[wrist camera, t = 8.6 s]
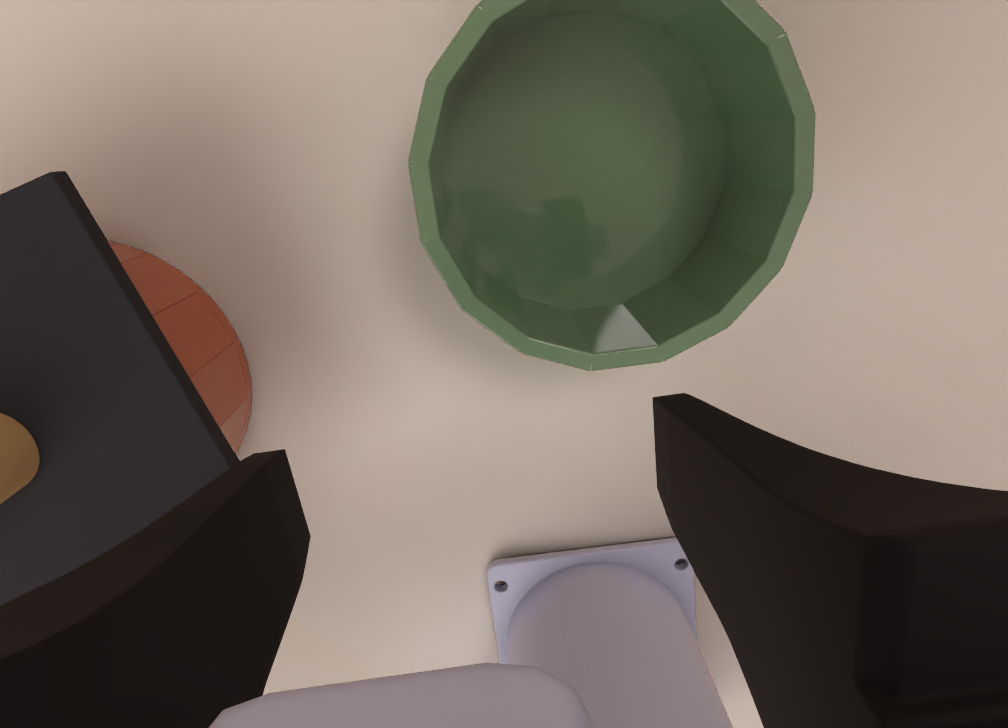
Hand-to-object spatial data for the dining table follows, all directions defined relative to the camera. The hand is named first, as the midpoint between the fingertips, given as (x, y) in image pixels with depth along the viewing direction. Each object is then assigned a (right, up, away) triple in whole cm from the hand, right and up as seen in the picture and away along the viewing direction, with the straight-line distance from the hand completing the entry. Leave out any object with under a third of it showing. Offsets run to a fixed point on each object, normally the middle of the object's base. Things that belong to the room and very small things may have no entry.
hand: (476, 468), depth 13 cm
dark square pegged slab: (-13, 0, +5) cm, 14 cm away
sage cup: (+3, +8, +8) cm, 12 cm away
